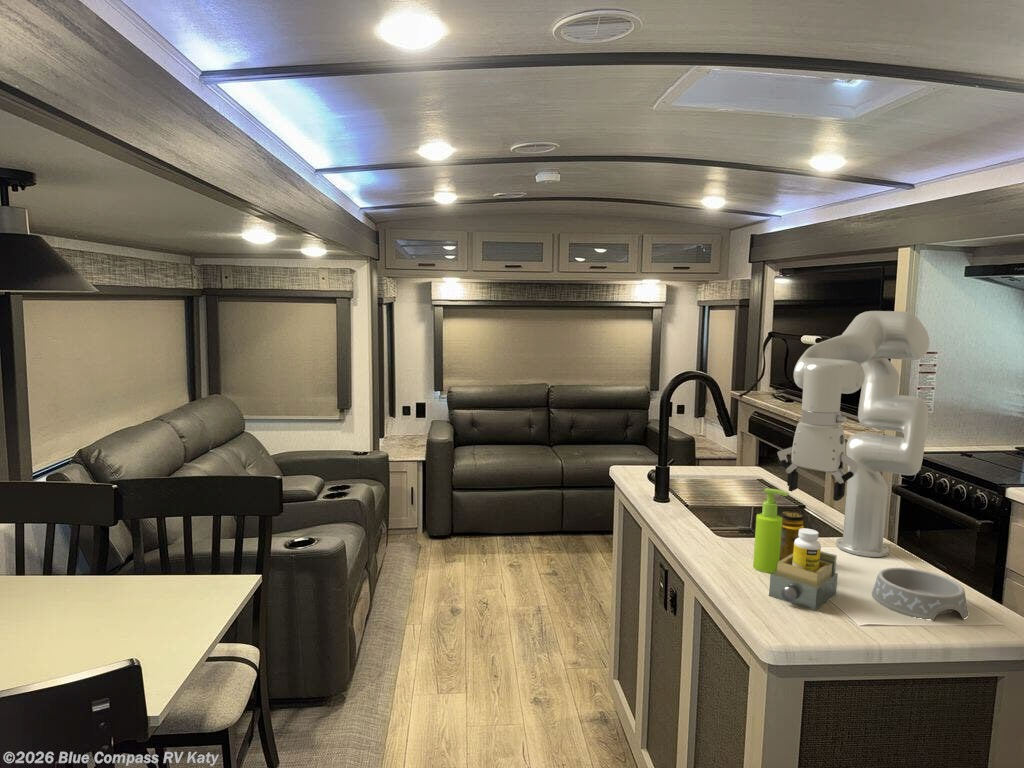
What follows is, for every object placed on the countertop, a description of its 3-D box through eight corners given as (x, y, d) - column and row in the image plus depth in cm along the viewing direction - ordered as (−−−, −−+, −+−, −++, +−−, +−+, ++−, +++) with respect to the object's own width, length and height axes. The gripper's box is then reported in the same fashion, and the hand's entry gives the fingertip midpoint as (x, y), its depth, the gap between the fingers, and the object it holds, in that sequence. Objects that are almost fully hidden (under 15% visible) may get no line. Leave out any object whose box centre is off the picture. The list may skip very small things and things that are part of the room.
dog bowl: (854, 588, 150) (856, 566, 150) (926, 586, 153) (929, 564, 152) (908, 624, 133) (910, 598, 133) (988, 620, 136) (991, 596, 135)
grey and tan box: (791, 580, 153) (794, 544, 152) (836, 594, 146) (839, 556, 145) (764, 598, 143) (767, 558, 142) (811, 613, 136) (814, 572, 135)
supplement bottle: (805, 579, 141) (808, 536, 140) (786, 570, 146) (789, 528, 145) (823, 576, 143) (827, 533, 142) (804, 567, 148) (807, 525, 147)
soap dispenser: (779, 576, 156) (785, 494, 154) (750, 568, 160) (755, 489, 158) (785, 568, 160) (791, 489, 158) (757, 561, 165) (762, 484, 162)
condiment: (807, 565, 163) (810, 518, 162) (773, 563, 164) (776, 517, 163) (796, 554, 171) (800, 510, 169) (763, 553, 171) (766, 508, 170)
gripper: (868, 421, 138) (862, 500, 140) (787, 411, 151) (783, 483, 153) (856, 426, 133) (850, 507, 135) (773, 415, 145) (769, 489, 147)
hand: (814, 494), depth 144 cm, fingers open, 9 cm apart
